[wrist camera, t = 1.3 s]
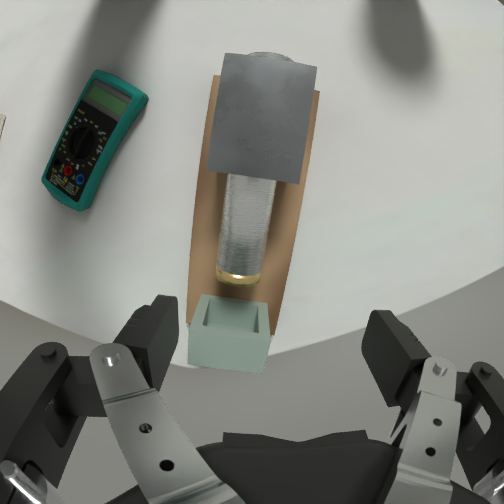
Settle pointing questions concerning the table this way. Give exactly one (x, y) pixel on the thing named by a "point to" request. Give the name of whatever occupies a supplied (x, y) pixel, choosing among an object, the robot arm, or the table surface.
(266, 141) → the sleeve
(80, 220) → the table surface
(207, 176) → the board
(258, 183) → the tube
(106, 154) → the digital multimeter
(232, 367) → the socket
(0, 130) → the condiment
